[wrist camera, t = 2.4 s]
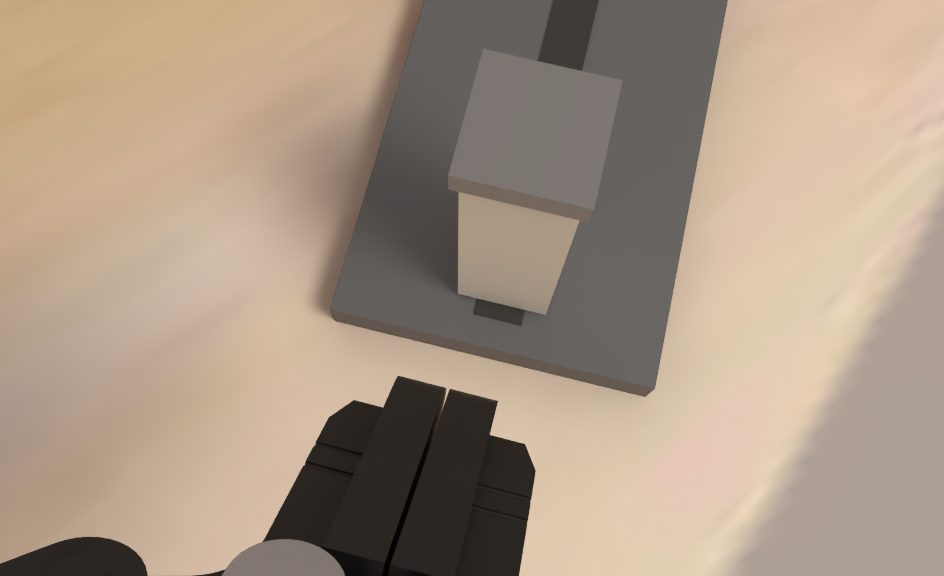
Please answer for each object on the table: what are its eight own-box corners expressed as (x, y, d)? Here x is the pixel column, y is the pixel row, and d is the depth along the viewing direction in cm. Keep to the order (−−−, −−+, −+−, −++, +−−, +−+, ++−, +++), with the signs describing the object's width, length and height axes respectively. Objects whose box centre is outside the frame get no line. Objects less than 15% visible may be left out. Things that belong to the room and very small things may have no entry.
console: (335, 320, 31) (321, 291, 28) (495, -206, 38) (499, -280, 35) (645, 396, 31) (669, 376, 27) (750, -153, 38) (778, -223, 34)
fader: (450, 297, 30) (448, 175, 20) (474, 206, 31) (483, 48, 21) (550, 322, 30) (594, 209, 20) (571, 228, 31) (622, 80, 21)
